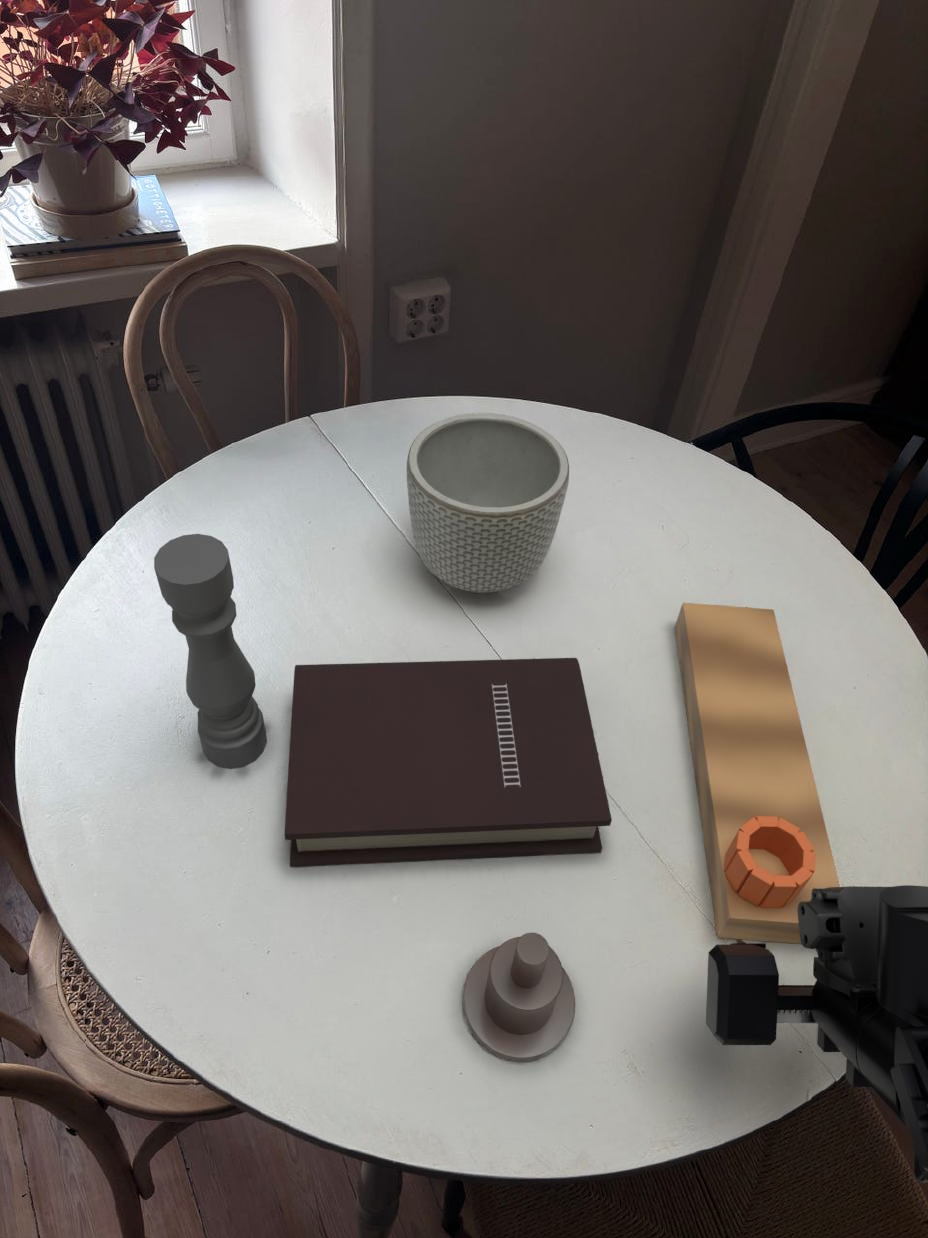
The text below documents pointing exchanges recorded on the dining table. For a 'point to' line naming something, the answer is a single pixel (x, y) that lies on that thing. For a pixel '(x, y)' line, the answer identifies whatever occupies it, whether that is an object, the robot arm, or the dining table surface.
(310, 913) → the dining table surface
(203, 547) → the candle holder
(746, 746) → the wooden board
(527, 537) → the planter
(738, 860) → the ring
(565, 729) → the book
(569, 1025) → the peg stand
